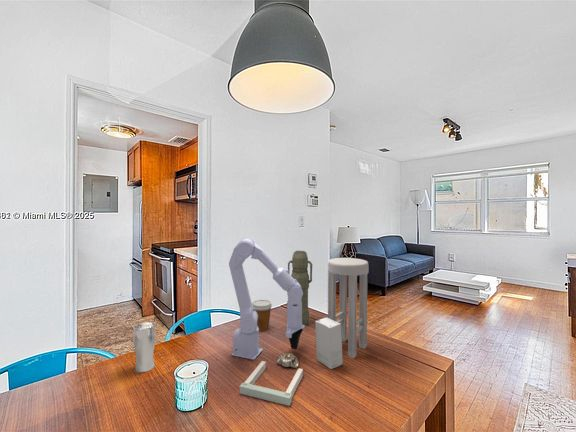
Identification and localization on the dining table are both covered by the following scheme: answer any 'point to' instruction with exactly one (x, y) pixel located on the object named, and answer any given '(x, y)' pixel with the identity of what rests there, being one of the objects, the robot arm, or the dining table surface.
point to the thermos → (302, 279)
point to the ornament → (288, 360)
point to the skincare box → (329, 342)
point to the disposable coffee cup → (262, 313)
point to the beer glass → (144, 346)
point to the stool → (352, 269)
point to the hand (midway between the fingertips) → (294, 348)
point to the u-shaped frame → (267, 393)
